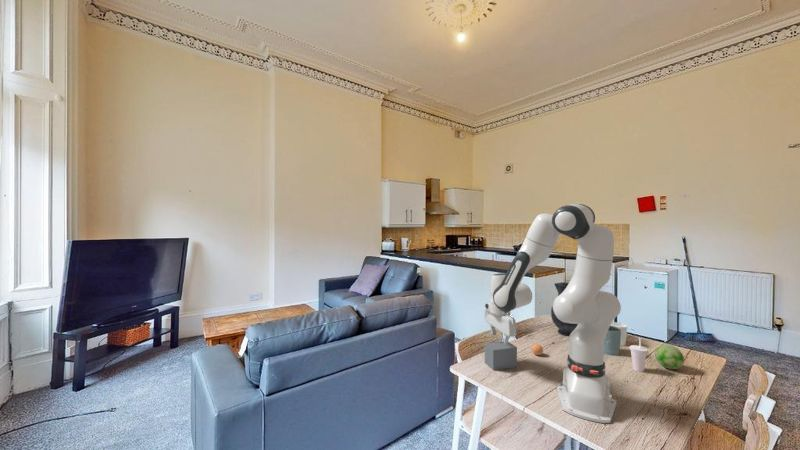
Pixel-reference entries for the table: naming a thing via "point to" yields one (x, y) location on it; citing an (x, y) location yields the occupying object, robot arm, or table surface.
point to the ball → (537, 349)
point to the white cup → (623, 332)
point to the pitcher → (563, 327)
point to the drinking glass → (612, 341)
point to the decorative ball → (669, 356)
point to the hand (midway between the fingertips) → (499, 338)
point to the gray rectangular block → (500, 355)
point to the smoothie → (638, 356)
